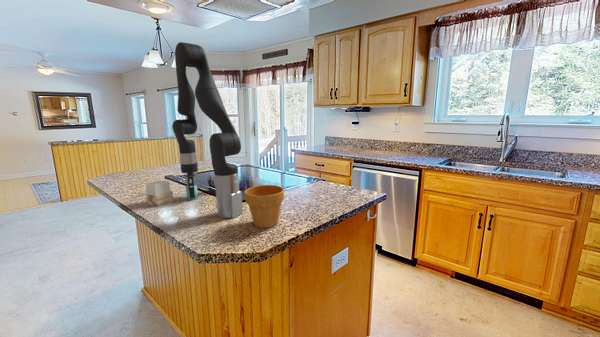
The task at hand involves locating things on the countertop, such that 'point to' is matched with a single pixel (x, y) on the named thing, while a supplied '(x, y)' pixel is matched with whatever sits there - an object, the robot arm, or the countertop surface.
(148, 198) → the oak base block
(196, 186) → the teal cylinder
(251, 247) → the countertop surface
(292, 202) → the countertop surface
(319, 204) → the countertop surface
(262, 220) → the flower pot
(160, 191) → the white top block
